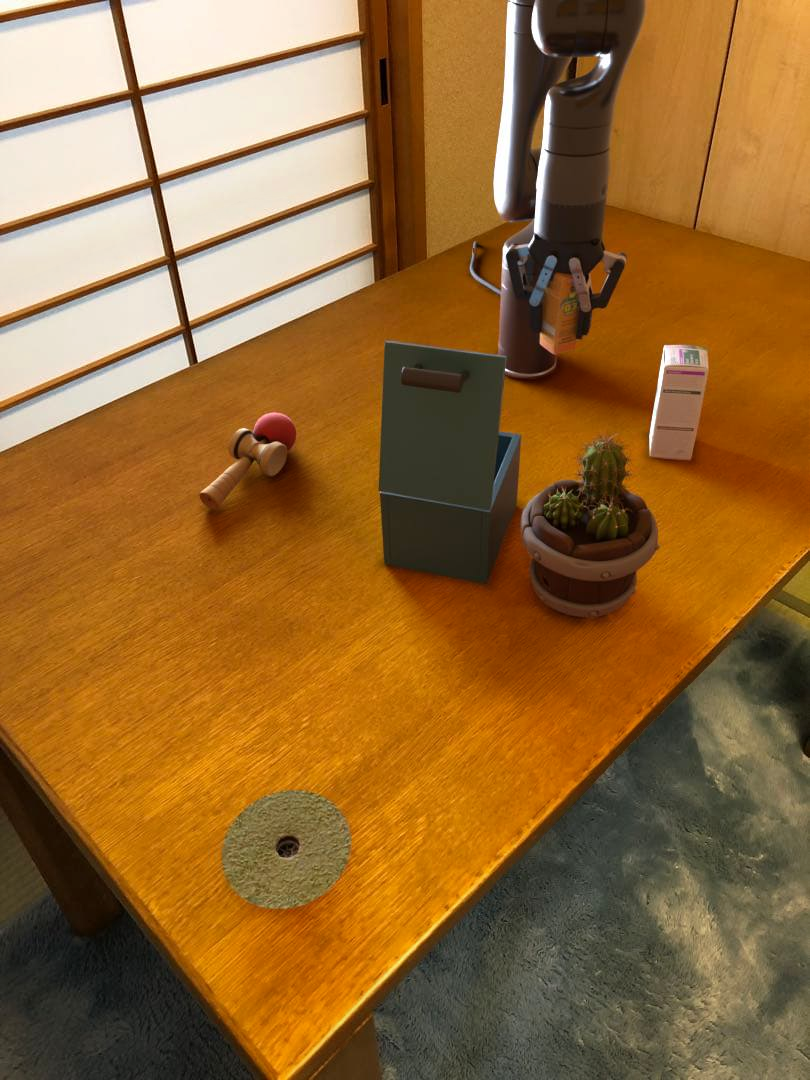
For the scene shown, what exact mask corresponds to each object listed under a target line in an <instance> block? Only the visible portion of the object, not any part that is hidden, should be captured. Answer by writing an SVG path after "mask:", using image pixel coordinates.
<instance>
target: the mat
mask: <svg viewBox="0 0 810 1080" xmlns="http://www.w3.org/2000/svg"><path fill="white" fill-rule="evenodd" d="M236 816H237V817H236V818H234V820H233V821H232V822H231V824H230V826H229V827H228V829H227V832H226V834H225V836H224V839H223V843H222V848H221V859H220V861H221V864H222V871H223V873H224V876H225V878H226V881H227V882H228V883H229V885H230V887H231V889H232V890H233V891H234V892H235V893H236V894H237V895H238V896H239V897H240V898H241V899H243V900H244V901H245V902H247V903H249V904H251V905H254V906H257V907H260V908H261V907H262V908H263V909H273V910H277V909H278V910H280V909H281V910H283V909H286V910H287V909H292V908H298V907H302V906H303V905H307V904H309V903H311V902H313V901H315V900H317V899H319V898H320V897H321V896H323V895H324V894H326V893H327V892H328V891H329V890H330V889H331V888H333V886H334V885H335V883H336V882H337V881H338V880H339V879H340V878H341V877H342V875H343V873H344V871H345V869H346V867H347V865H348V863H349V859H350V856H351V850H352V834H351V829H350V826H349V823H348V819H346V818H345V816H344V813H342V811H341V809H340V808H339V807H338V806H337V805H336V804H335V803H334V802H332V801H331V800H330V799H327V798H326V797H325V796H322V795H321V794H317V793H316V792H313V791H312V792H311V791H308V790H302V789H299V790H298V789H289V790H281V791H277V792H272V793H270V794H266V795H264V796H261V797H259V798H258V799H255V800H254V802H252V803H250V804H249V805H247V807H245V808H244V809H243V810H242V811H241V812H239V814H238V815H236Z"/></svg>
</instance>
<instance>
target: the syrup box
mask: <svg viewBox="0 0 810 1080" xmlns="http://www.w3.org/2000/svg"><path fill="white" fill-rule="evenodd" d="M659 367H660V368H659V372H658V373H659V374H658V379H657V386H656V393H655V398H654V404H653V409H652V410H653V411H652V417H651V423H650V429H649V457H651V458H657V459H666V460H679V461H691V459H692V457H693V451H694V448H695V442H696V438H697V434H698V428H699V422H700V419H701V418H700V417H701V412H702V407H703V402H704V396H705V391H706V387H707V381H708V375H709V370H710V367H709V355H708V348H707V347H705V346H699V345H698V346H697V345H690V344H664V346H663V350H662V357H661V361H660V366H659Z"/></svg>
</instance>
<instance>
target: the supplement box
mask: <svg viewBox="0 0 810 1080" xmlns="http://www.w3.org/2000/svg"><path fill="white" fill-rule="evenodd" d="M580 308H581V307H580V303H579V298H578V295H577V294H576V290H575V286H574V281H573V277H572V275H571V274H565V273H558V272H557V273H555V274H554V278H553V282H552V281H549V282H548V284H547V287H546V289H545V296H544V306H543V316H542V325H541V335H540V345H542V346H543V347H544V348H545V349H547V350H548V351H550V352H551V353H552V354H554V355H556V356H557V355H560V354H562V353H565V352H568V351H572V350H575V348H576V342H577V339H576V332H577V323H578V313H579V310H580Z"/></svg>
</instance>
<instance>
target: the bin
mask: <svg viewBox="0 0 810 1080" xmlns="http://www.w3.org/2000/svg"><path fill="white" fill-rule="evenodd" d="M521 447H522V434H521V433H513V432H506V431H500V430H499V436H498V446H497V455H496V465H495V474H494V484H493V493H492V503H491V509H490V510H483V509H478V508H472V507H466V506H461V505H455V504H449V503H444V502H438V501H433V500H427V499H421V498H416V497H410V496H404V495H399V494H393V493H387V492H382V491H379V501H380V502H379V503H380V517H381V533H382V549H383V563H384V565H387V566H391V567H396V568H400V569H405V570H412V571H417V572H421V573H427V574H432V575H435V576H436V575H437V576H442V577H446V578H451V579H455V580H456V579H457V580H461V581H466V582H472V583H477V584H482V585H486V586H487V585H488V583H489V580H490V578H491V575H492V572H493V569H494V567H495V564H496V562H497V559H498V557H499V555H500V551H501V548H502V545H503V543H504V540H505V538H506V534H507V532H508V529H509V527H510V524H511V521H512V519H513V516H514V513H515V510H516V508H517V505H518V493H519V479H520V478H519V477H520V463H521V462H520V461H521V449H522V448H521Z"/></svg>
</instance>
